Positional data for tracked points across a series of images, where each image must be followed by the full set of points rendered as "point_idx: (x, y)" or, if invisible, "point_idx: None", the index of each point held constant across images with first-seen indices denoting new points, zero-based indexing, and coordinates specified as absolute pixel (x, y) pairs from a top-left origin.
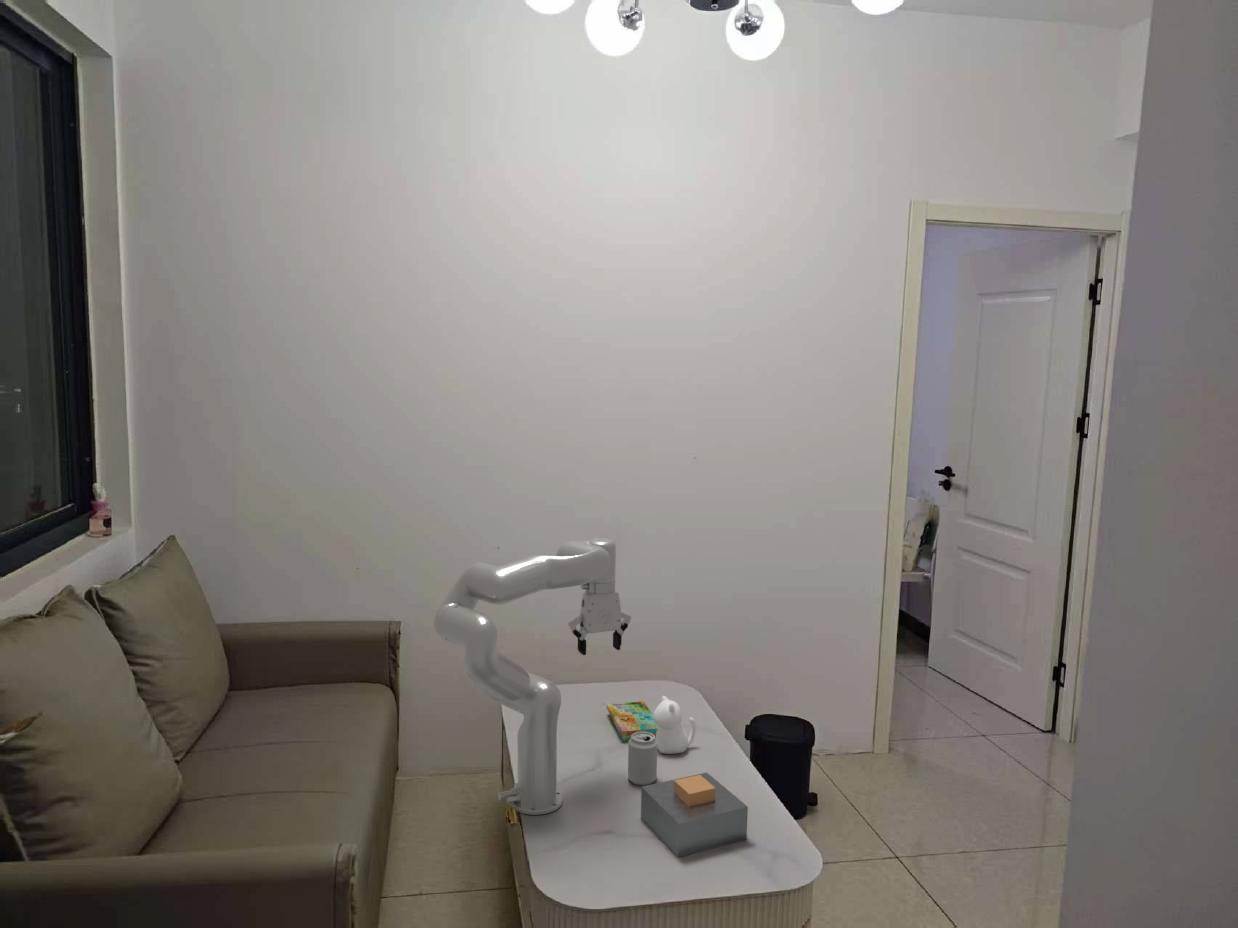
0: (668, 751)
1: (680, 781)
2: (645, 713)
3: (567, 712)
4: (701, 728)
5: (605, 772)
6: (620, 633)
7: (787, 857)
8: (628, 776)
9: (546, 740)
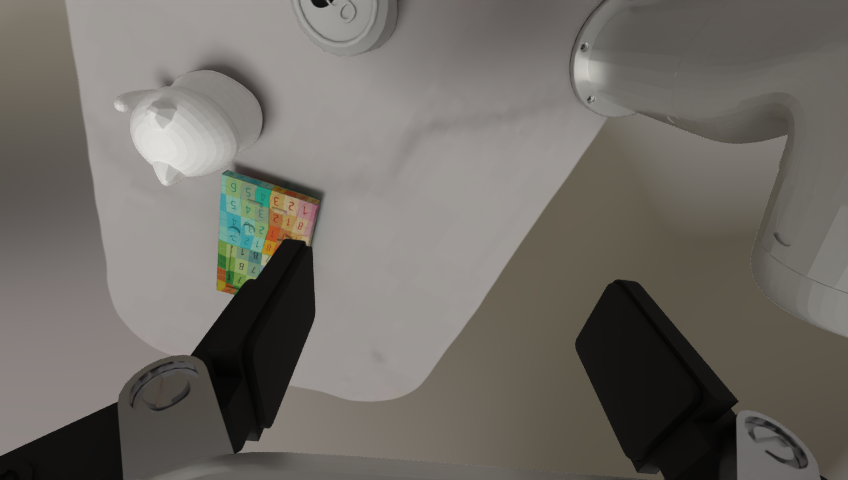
0: (243, 86)
1: None
2: (233, 244)
3: (360, 328)
4: (124, 163)
5: (420, 97)
6: (189, 380)
7: None
8: (395, 23)
9: None
